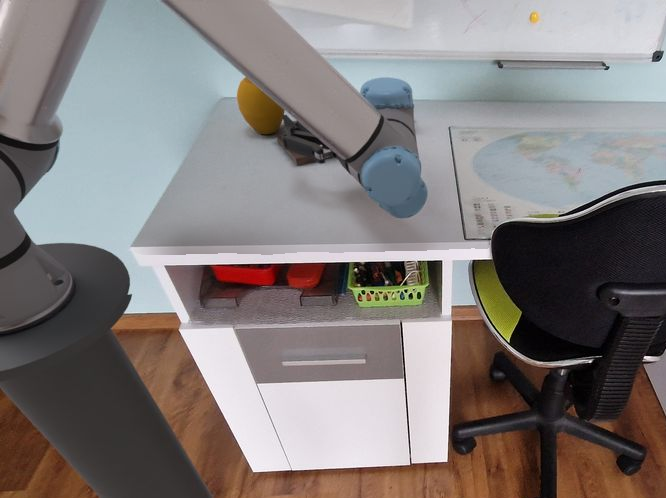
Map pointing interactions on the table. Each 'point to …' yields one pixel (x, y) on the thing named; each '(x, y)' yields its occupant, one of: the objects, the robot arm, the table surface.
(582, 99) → the table surface
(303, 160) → the pad base
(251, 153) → the table surface
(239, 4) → the robot arm
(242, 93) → the apple
